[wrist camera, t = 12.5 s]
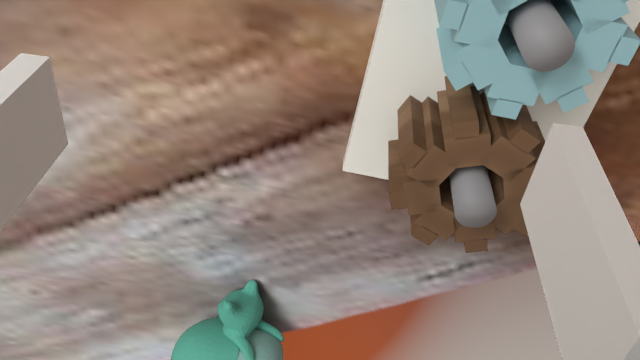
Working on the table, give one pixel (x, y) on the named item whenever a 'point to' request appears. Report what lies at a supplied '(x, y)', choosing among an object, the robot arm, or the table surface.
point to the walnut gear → (460, 163)
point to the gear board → (429, 77)
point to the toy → (232, 332)
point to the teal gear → (507, 62)
